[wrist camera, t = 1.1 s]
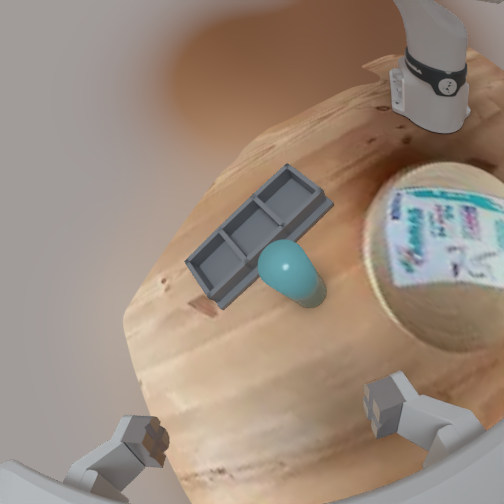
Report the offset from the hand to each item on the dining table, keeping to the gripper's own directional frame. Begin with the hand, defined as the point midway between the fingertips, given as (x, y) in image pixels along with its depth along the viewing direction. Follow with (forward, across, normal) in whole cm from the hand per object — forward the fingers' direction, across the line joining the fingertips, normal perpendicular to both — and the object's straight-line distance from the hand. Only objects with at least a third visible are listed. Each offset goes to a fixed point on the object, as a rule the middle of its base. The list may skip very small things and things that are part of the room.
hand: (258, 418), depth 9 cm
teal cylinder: (+30, -6, +9) cm, 32 cm away
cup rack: (+38, -1, +1) cm, 39 cm away
